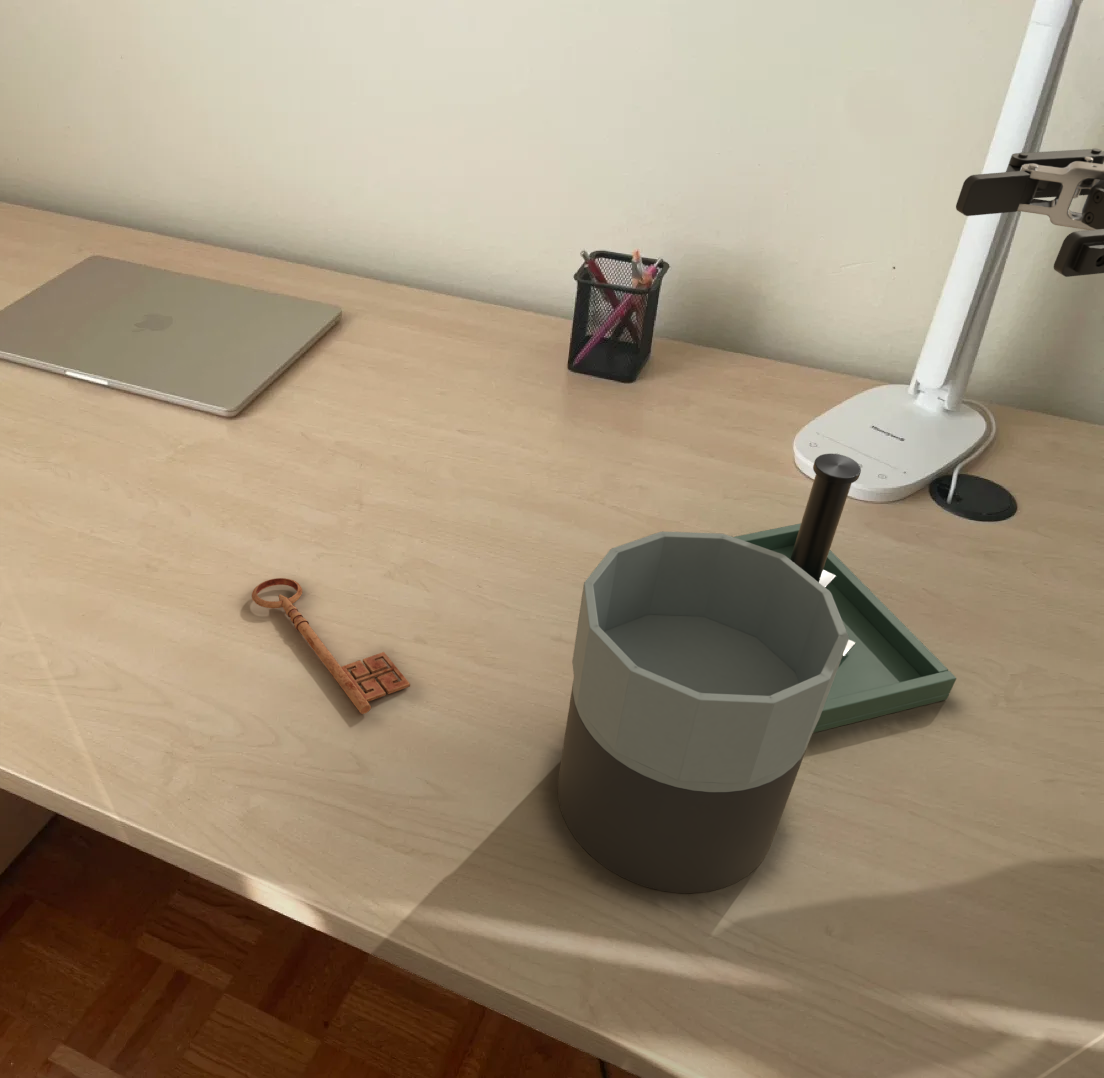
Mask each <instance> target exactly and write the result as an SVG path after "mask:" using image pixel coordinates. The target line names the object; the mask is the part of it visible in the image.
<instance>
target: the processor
mask: <svg viewBox="0 0 1104 1078" xmlns="http://www.w3.org/2000/svg"><path fill="white" fill-rule="evenodd" d="M734 537H735V536H731V535H728V534H725V533H720V532H719V533H718V532H714V533H713V532H693V531H691V532H690V531H689V532H688V531H658V532H656V533H652V534H650V535H647V536H643V537H640V538H639V539H638V538H637V539H635V540H632V541H630V542H626V543H624V544H620V545H618V546H615V547H611V548H610V549H609V550H608V552H607V553H606V554H605V555H604V557H603V558H602V560H601V561H600V562H599V563H598V564H597V566H596V567H594V569H593V571H592V572H591V573H590V574H589V576H588V577H587V578H586V579H585V581H584V582H583V585H582V594H581V600H580V607H579V614H578V618H577V619H578V620H577V628H576V634H575V640H574V648H573V654H572V661H571V662H572V673H573V679H572V685H571V691H570V699H569V705H568V712H567V719H566V725H565V733H564V739H563V745H562V752H561V759H560V766H559V772H558V777H557V798H558V799H557V800H558V804H559V805H558V806H559V808H560V811H561V815H562V818H563V820H564V822H565V824H566V826H567V828H568V829H569V831H570V833H571V834H572V836H573V837H574V838H575V840H576V841H577V843H578V844H579V845H580V846H581V847H582V848H583V850H584V851H585V852H586V853H587V854H588V855H590V857H592V858H593V859H594V860H595V861H596V862H597V863H599V864H600V865H602V866H603V867H604V868H606V869H607V870H609V871H610V872H612V873H613V874H615V875H617V876H619V877H621V878H623V879H625V880H627V881H630V882H632V883H634V884H637V885H640V886H643V887H645V888H649V889H652V890H657V891H661V892H666V893H667V892H668V893H676V894H700V893H707V892H713V891H716V890H720V889H724V888H727V887H729V886H731V885H734V884H736V883H738V882H739V881H741V880H743V879H745V878H746V877H748V876H749V875H750V874H751V873H753V872H754V870H756V869H757V868H758V867H759V866H760V865H761V863H762V862H763V861H764V860H765V858H766V857H767V854H768V853H769V851H770V849H771V847H772V843H773V842H774V838H775V836H776V832H777V830H778V827H779V825H780V822H781V819H782V817H783V814H784V811H785V808H786V806H787V803H788V800H789V797H790V795H791V792H792V789H793V786H794V784H795V781H796V778H797V776H798V773H799V771H800V768H801V765H802V762H803V759H804V756H805V754H806V751H807V748H808V745H809V743H810V740H811V739H812V735H813V734H814V733H813V731H814V729H815V727H816V725H817V722H818V720H819V718H820V715H821V713H822V710H823V707H824V705H825V702H826V699H827V697H828V694H829V691H830V688H831V686H832V683H833V680H834V678H835V675H836V672H837V670H838V667H839V664H840V661H841V659H842V656H843V653H844V651H845V648H846V645H847V642H848V640H849V637H848V634H847V632H846V629H845V627H844V624H843V622H842V619H841V617H840V614H839V612H838V609H837V607H836V604H835V602H834V599H833V597H832V594H831V592H830V591H829V590H827V589H826V588H825V587H824V586H823V585H821V584H820V583H819V582H818V581H816V580H815V579H814V578H813V577H811V576H810V575H809V574H808V573H806V572H805V571H804V570H803V569H801V568H800V567H799V566H798V565H796V564H795V563H794V562H793V561H791V560H790V559H789V558H788V557H786V556H785V555H783V554H780V553H777V552H774V551H772V550H769V549H766V548H763V547H760V546H757V545H754V544H752V543H749V542H746V541H743V540H740V539H737V538H734Z"/></svg>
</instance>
